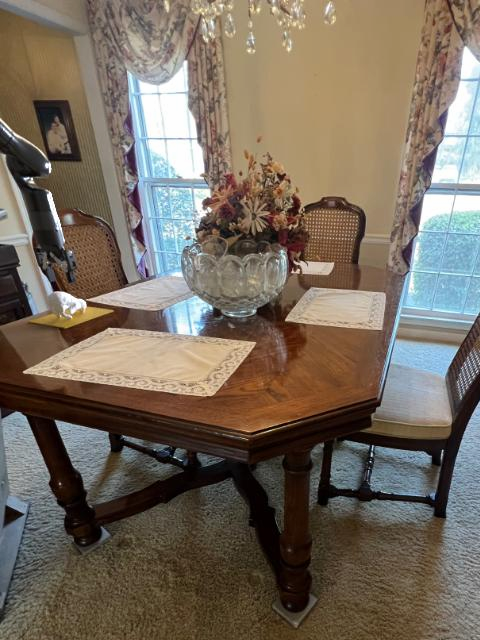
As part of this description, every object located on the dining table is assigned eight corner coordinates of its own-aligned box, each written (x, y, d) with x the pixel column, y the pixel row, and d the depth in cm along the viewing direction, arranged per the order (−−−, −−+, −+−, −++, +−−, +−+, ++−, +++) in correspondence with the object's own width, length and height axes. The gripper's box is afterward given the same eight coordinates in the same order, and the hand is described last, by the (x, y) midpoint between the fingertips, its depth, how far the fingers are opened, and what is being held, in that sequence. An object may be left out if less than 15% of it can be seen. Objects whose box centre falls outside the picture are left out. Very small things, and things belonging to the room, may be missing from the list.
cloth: (65, 328, 117) (64, 327, 117) (28, 322, 122) (27, 321, 122) (114, 311, 133) (113, 310, 133) (80, 306, 138) (79, 305, 138)
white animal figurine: (42, 292, 119) (74, 287, 129) (48, 319, 123) (79, 312, 133) (57, 293, 117) (88, 289, 128) (63, 321, 121) (93, 314, 131)
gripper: (17, 227, 113) (35, 282, 121) (52, 229, 109) (68, 287, 116) (41, 225, 119) (56, 278, 127) (74, 227, 115) (88, 282, 123)
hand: (62, 282), depth 122 cm, fingers open, 8 cm apart
